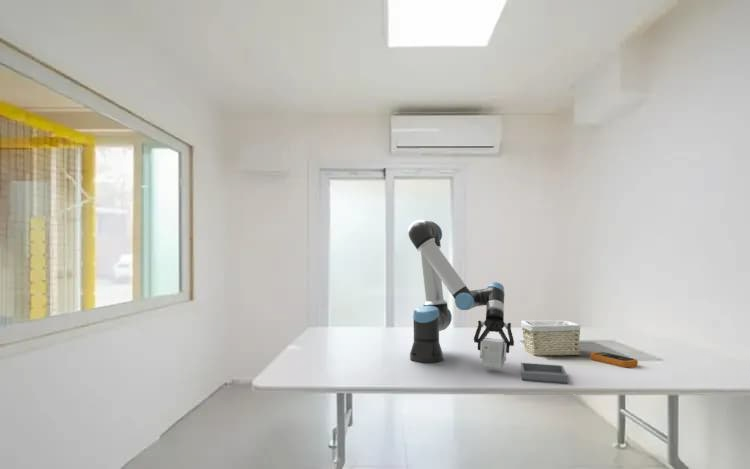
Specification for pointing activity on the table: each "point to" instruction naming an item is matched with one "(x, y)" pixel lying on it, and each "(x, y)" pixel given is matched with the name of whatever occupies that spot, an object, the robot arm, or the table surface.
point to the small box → (493, 352)
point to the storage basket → (551, 337)
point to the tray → (543, 373)
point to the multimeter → (614, 359)
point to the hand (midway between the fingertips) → (492, 357)
